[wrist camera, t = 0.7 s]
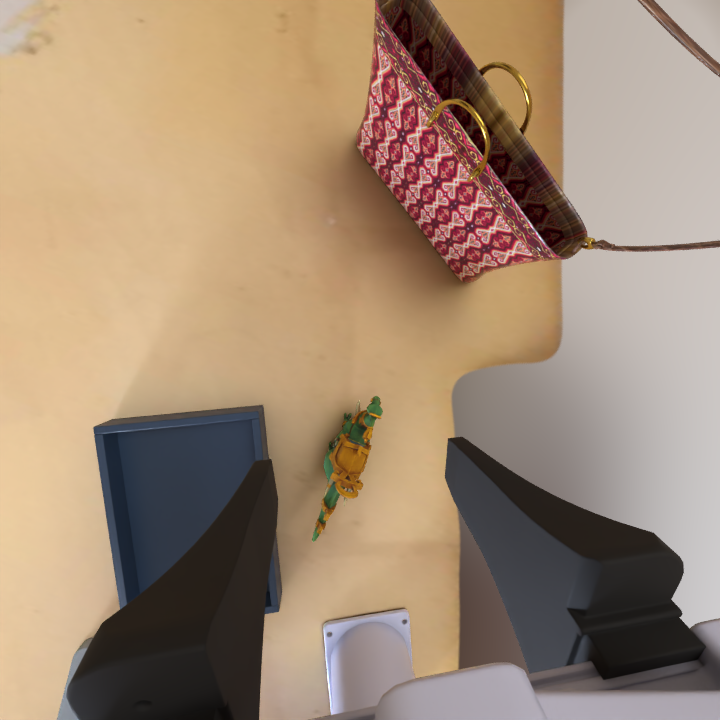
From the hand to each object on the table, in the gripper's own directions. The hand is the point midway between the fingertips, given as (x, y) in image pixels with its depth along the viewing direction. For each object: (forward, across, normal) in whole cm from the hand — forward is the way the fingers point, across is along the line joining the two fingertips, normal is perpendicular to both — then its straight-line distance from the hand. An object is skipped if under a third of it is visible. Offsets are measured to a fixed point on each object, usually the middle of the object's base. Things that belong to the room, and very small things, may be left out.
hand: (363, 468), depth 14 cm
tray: (+13, +13, +14) cm, 23 cm away
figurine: (+14, 0, +10) cm, 17 cm away
